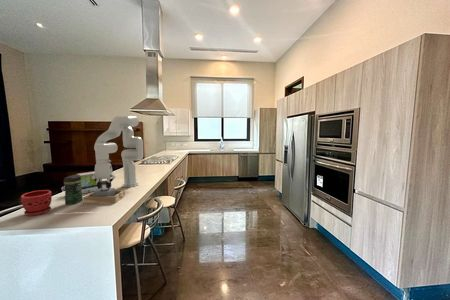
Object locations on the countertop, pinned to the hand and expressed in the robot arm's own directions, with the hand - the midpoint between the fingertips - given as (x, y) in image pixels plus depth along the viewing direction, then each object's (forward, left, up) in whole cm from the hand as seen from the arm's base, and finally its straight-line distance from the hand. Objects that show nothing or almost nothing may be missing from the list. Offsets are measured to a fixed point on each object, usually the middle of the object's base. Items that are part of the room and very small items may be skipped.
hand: (104, 187), depth 139 cm
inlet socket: (0, 0, -9) cm, 9 cm away
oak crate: (0, 0, -9) cm, 9 cm away
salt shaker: (0, 0, -5) cm, 5 cm away
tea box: (-26, -25, -9) cm, 37 cm away
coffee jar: (+2, -19, -9) cm, 21 cm away
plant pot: (+18, -29, -9) cm, 35 cm away
